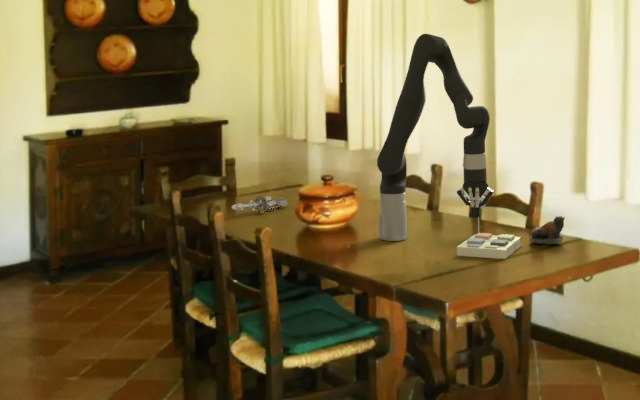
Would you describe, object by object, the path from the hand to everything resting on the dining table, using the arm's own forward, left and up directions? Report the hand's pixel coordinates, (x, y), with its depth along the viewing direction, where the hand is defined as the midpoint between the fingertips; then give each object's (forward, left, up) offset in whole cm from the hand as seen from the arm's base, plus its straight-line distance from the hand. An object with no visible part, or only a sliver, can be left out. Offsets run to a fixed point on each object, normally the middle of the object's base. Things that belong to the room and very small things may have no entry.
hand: (476, 217), depth 301 cm
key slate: (0, 0, -10) cm, 10 cm away
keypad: (+4, +2, -12) cm, 12 cm away
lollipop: (-7, +25, -12) cm, 28 cm away
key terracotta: (0, +8, -10) cm, 13 cm away
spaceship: (-109, +39, -12) cm, 116 cm away
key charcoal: (+8, 0, -10) cm, 13 cm away
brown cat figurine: (+20, +17, -12) cm, 28 cm away
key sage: (+8, +8, -10) cm, 15 cm away
